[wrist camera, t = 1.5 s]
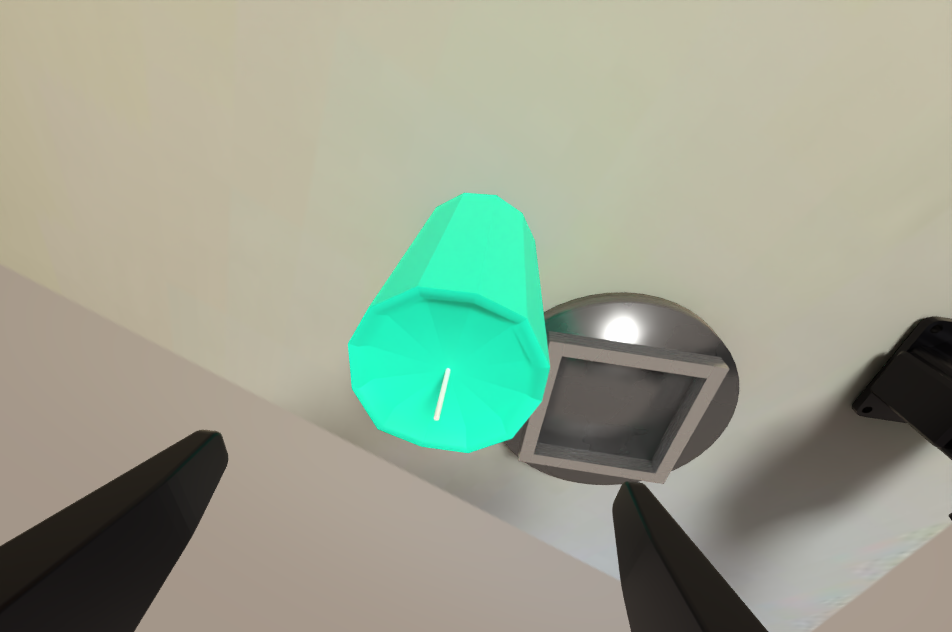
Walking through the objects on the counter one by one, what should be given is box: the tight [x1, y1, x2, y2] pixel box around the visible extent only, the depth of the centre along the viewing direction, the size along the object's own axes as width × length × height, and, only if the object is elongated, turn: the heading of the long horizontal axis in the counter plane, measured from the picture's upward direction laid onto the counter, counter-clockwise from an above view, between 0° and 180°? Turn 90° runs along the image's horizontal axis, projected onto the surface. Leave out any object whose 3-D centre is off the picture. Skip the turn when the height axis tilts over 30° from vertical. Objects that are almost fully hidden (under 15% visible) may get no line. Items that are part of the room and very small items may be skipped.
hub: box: [504, 293, 739, 485], centre depth 23 cm, size 14×14×2 cm
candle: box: [348, 193, 550, 453], centre depth 15 cm, size 6×6×12 cm
